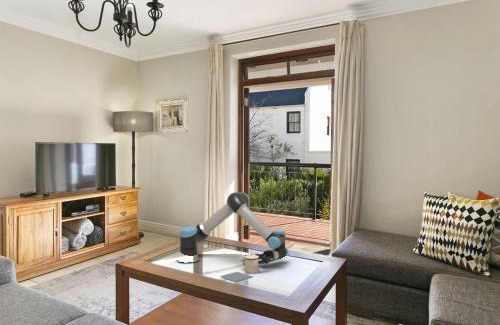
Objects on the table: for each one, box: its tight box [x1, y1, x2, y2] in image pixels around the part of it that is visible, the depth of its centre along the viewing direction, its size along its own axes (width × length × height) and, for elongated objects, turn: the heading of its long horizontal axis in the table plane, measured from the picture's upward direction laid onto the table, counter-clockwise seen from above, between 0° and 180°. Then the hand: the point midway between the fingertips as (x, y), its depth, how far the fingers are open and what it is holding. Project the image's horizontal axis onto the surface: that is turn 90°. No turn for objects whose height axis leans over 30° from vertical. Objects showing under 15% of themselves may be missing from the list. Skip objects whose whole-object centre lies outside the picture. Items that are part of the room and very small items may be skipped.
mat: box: [220, 271, 254, 283], centre depth 179 cm, size 14×14×1 cm
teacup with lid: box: [242, 252, 260, 275], centre depth 191 cm, size 12×9×12 cm
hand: (246, 261), depth 189 cm, fingers closed on teacup with lid, 12 cm apart
